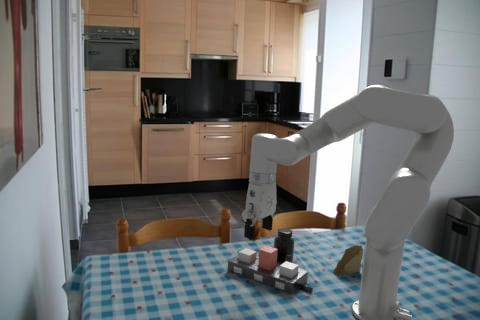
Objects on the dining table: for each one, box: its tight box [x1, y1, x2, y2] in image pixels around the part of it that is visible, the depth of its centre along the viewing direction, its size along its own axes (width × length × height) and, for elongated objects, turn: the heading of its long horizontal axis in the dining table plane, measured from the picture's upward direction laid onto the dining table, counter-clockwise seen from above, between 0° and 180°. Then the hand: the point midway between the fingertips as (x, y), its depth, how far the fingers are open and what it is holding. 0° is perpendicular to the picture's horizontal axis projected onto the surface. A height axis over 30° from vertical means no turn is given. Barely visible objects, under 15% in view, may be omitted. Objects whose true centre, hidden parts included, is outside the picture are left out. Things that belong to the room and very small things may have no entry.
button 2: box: [258, 245, 278, 271], centre depth 133 cm, size 4×4×6 cm
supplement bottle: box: [273, 227, 295, 264], centre depth 144 cm, size 7×7×12 cm
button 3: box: [238, 248, 258, 264], centre depth 138 cm, size 4×4×6 cm
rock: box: [332, 244, 364, 276], centre depth 141 cm, size 11×9×10 cm
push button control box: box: [227, 253, 314, 295], centre depth 133 cm, size 27×10×4 cm, turn 56°
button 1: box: [279, 261, 300, 278], centre depth 130 cm, size 4×4×6 cm
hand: (258, 233), depth 126 cm, fingers open, 9 cm apart
